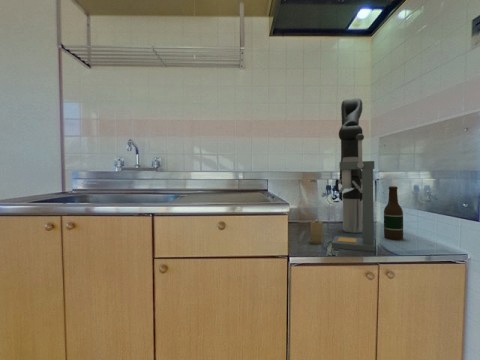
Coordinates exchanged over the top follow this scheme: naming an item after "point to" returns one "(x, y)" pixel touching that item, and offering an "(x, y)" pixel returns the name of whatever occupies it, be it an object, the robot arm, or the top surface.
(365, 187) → the press
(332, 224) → the top surface
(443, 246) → the top surface
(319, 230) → the block
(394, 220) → the beer bottle
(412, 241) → the top surface
